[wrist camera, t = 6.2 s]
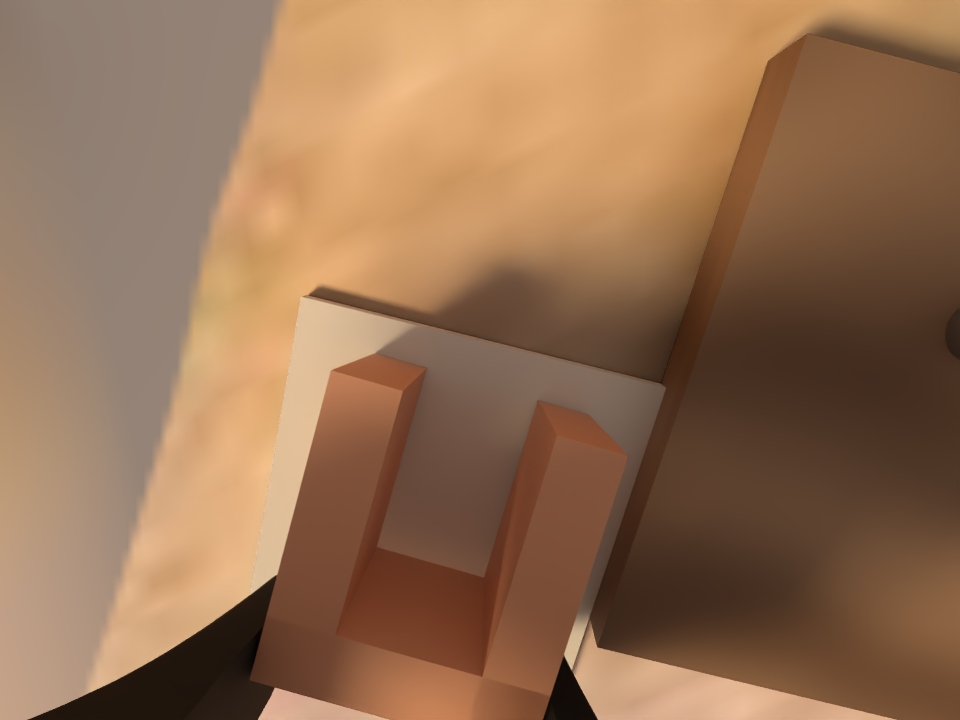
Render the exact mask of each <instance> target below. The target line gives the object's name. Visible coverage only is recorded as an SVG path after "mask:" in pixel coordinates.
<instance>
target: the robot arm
mask: <svg viewBox="0 0 960 720" xmlns="http://www.w3.org/2000/svg"><path fill="white" fill-rule="evenodd" d="M276 578H277V575H275V576H274V577H272V578H271V579H270V580H269V581H267V582H266V583H265V584H263V585H262V586H261V587H260V588H258V589H257V590H256V591H255V592H253V593H252V594H251V595H249V596H248V597H247V598H245V599H244V600H243V601H241V602H240V603H239V604H237V605H236V606H235V607H233V608H232V609H230V610H229V611H228V612H226V613H225V614H223V615H222V616H221V617H219V618H218V619H216V620H215V621H214V622H212V623H211V624H209V625H208V626H206V627H205V628H203V629H202V630H201V631H199V632H197V633H196V634H194V635H193V636H191V637H190V638H188V639H186V640H185V641H183V642H182V643H180V644H179V645H177V646H176V647H174V648H172V649H171V650H169V651H168V652H166V653H164V654H163V655H161V656H159V657H158V658H156V659H154V660H152V661H151V662H149V663H147V664H145V665H144V666H142V667H140V668H138V669H136V670H134V671H133V672H131V673H129V674H127V675H125V676H123V677H121V678H120V679H118V680H116V681H114V682H112V683H110V684H108V685H106V686H103V687H101V688H99V689H97V690H95V691H93V692H91V693H88V694H86V695H84V696H82V697H80V698H78V699H76V700H73V701H71V702H69V703H67V704H65V705H62V706H60V707H58V708H55V709H53V710H50V711H48V712H46V713H43V714H41V715H38V716H36V717H34V718H31V719H28V720H258V718H259V716H260V715H261V713H262V711H263V709H264V708H265V706H266V704H267V702H268V700H269V699H270V697H271V695H272V692H273V690H274V688H275V687H272V686H268V685H265V684H261V683H258V682H254V681H250V677H251V673H252V669H253V665H254V662H255V658H256V654H257V650H258V646H259V642H260V639H261V635H262V631H263V627H264V623H265V620H266V616H267V612H268V608H269V604H270V601H271V597H272V593H273V589H274V585H275V581H276ZM543 720H598V719H597V717H596V715H595V714H594V712H593V710H592V708H591V706H590V705H589V703H588V701H587V699H586V697H585V695H584V693H583V692H582V690H581V688H580V686H579V684H578V682H577V680H576V678H575V676H574V674H573V672H572V670H571V668H570V666H569V664H568V662H567V660H566V658H565V656H563V659H562V662H561V665H560V668H559V671H558V675H557V678H556V681H555V684H554V687H553V690H552V693H551V696H550V699H549V702H548V705H547V708H546V711H545V715H544V718H543Z"/></svg>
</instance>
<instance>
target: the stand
mask: <svg viewBox="0 0 960 720" xmlns="http://www.w3.org/2000/svg"><path fill="white" fill-rule="evenodd" d="M661 384H662V385H663V386H665V387H666V390H665V393H664V396H663V399H662V402H661V405H660V408H659V411H658V414H657V417H656V420H655V423H654V426H653V429H652V432H651V435H650V438H649V441H648V444H647V447H646V450H645V453H644V456H643V459H642V462H641V465H640V468H639V471H638V474H637V477H636V480H635V483H634V486H633V489H632V492H631V495H630V498H629V501H628V504H627V507H626V510H625V513H624V516H623V519H622V522H621V525H620V528H619V531H618V534H617V537H616V540H615V543H614V546H613V548H612V551H611V554H610V557H609V560H608V563H607V566H606V569H605V572H604V575H603V578H602V581H601V584H600V587H599V590H598V593H597V596H596V599H595V602H594V605H593V608H592V611H591V614H590V620H591V624H592V628H593V632H594V636H595V640H596V644H597V647H598V648H603V649H607V650H611V651H615V652H619V653H623V654H627V655H632V656H636V657H640V658H644V659H648V660H652V661H656V662H661V663H665V664H669V665H673V666H677V667H681V668H685V669H690V670H694V671H698V672H702V673H706V674H710V675H714V676H719V677H723V678H727V679H731V680H735V681H739V682H743V683H748V684H752V685H756V686H760V687H764V688H768V689H772V690H777V691H781V692H785V693H789V694H793V695H797V696H801V697H806V698H810V699H814V700H818V701H822V702H826V703H830V704H835V705H839V706H843V707H847V708H851V709H855V710H859V711H864V712H868V713H872V714H876V715H880V716H884V717H888V718H893V719H897V720H960V73H957V72H953V71H949V70H945V69H942V68H938V67H934V66H930V65H926V64H923V63H919V62H915V61H911V60H907V59H903V58H900V57H896V56H892V55H888V54H884V53H881V52H877V51H873V50H869V49H865V48H861V47H858V46H854V45H850V44H846V43H842V42H839V41H835V40H831V39H827V38H823V37H819V36H816V35H812V34H806V35H805V36H803V37H802V38H800V39H799V40H798V41H796V42H795V43H793V44H792V45H790V46H789V47H788V48H786V49H785V50H783V51H782V52H780V53H779V54H778V55H776V56H775V57H773V58H772V59H770V60H769V61H768V63H767V66H766V69H765V72H764V75H763V78H762V81H761V84H760V87H759V90H758V93H757V97H756V100H755V103H754V106H753V109H752V112H751V115H750V118H749V121H748V124H747V127H746V130H745V133H744V136H743V139H742V142H741V145H740V148H739V151H738V154H737V157H736V160H735V163H734V166H733V169H732V172H731V175H730V178H729V181H728V184H727V187H726V190H725V193H724V196H723V199H722V202H721V205H720V208H719V211H718V214H717V217H716V220H715V223H714V226H713V229H712V232H711V235H710V238H709V241H708V244H707V247H706V250H705V253H704V256H703V259H702V262H701V265H700V268H699V271H698V274H697V277H696V280H695V283H694V286H693V289H692V292H691V295H690V298H689V301H688V304H687V307H686V311H685V314H684V317H683V320H682V323H681V326H680V329H679V332H678V335H677V338H676V341H675V344H674V347H673V350H672V353H671V356H670V359H669V362H668V365H667V368H666V371H665V374H664V377H663V380H662V383H661Z"/></svg>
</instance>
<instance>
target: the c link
mask: <svg viewBox="0 0 960 720" xmlns="http://www.w3.org/2000/svg"><path fill="white" fill-rule="evenodd" d="M426 369H427V368H425V367H421V366H418V365H414V364H411V363H408V362H404V361H401V360H397V359H394V358H390V357H387V356H383V355H380V354H376V353H374V354H372V355H369V356H366V357H364V358H361V359H359V360H356V361H354V362H351V363H348V364H346V365H343V366H341V367H338V368H335V369H333V370H331V372H330V376H329V379H328V383H327V387H326V391H325V395H324V398H323V402H322V406H321V410H320V414H319V418H318V421H317V425H316V429H315V433H314V437H313V440H312V444H311V448H310V452H309V456H308V459H307V463H306V467H305V471H304V475H303V479H302V482H301V486H300V490H299V494H298V498H297V501H296V505H295V509H294V513H293V517H292V520H291V524H290V528H289V532H288V536H287V540H286V543H285V547H284V551H283V555H282V559H281V562H280V566H279V570H278V574H277V578H276V581H275V585H274V589H273V593H272V597H271V601H270V604H269V608H268V612H267V616H266V620H265V623H264V627H263V631H262V635H261V639H260V642H259V646H258V650H257V654H256V658H255V662H254V665H253V669H252V673H251V677H250V681H254V682H258V683H261V684H265V685H268V686H272V687H275V688H279V689H283V690H286V691H290V692H293V693H297V694H300V695H304V696H308V697H311V698H315V699H318V700H322V701H325V702H329V703H333V704H336V705H340V706H343V707H347V708H351V709H354V710H358V711H361V712H365V713H368V714H372V715H376V716H379V717H383V718H386V719H390V720H543V718H544V715H545V711H546V708H547V705H548V702H549V699H550V696H551V693H552V690H553V687H554V684H555V681H556V678H557V675H558V671H559V668H560V665H561V662H562V659H563V656H564V653H565V650H566V647H567V644H568V641H569V638H570V634H571V631H572V628H573V625H574V622H575V619H576V616H577V613H578V610H579V607H580V604H581V601H582V597H583V594H584V591H585V588H586V585H587V582H588V579H589V576H590V573H591V570H592V567H593V564H594V560H595V557H596V554H597V551H598V548H599V545H600V542H601V539H602V536H603V533H604V530H605V527H606V523H607V520H608V517H609V514H610V511H611V508H612V505H613V502H614V499H615V496H616V493H617V490H618V486H619V483H620V480H621V477H622V474H623V471H624V468H625V465H626V462H627V459H628V455H627V454H626V453H625V452H624V451H623V450H622V449H621V448H620V447H619V445H618V444H617V443H616V442H615V441H614V440H613V439H612V438H611V437H610V436H609V435H608V434H607V433H606V432H605V431H604V430H603V429H602V428H601V427H600V426H599V425H598V424H597V423H596V422H595V421H594V419H593V418H592V417H591V416H590V415H588V414H584V413H581V412H577V411H574V410H571V409H567V408H564V407H560V406H557V405H553V404H550V403H546V402H543V401H539V400H538V401H537V404H536V407H535V411H534V414H533V417H532V421H531V424H530V427H529V431H528V434H527V437H526V440H525V444H524V447H523V450H522V454H521V457H520V460H519V463H518V467H517V470H516V473H515V477H514V480H513V483H512V487H511V490H510V493H509V496H508V500H507V503H506V506H505V510H504V513H503V516H502V519H501V523H500V526H499V529H498V533H497V536H496V539H495V543H494V546H493V549H492V552H491V556H490V559H489V562H488V566H487V569H486V572H485V575H484V577H481V576H477V575H474V574H470V573H466V572H463V571H459V570H456V569H452V568H449V567H445V566H442V565H438V564H435V563H431V562H428V561H424V560H421V559H417V558H414V557H410V556H407V555H403V554H399V553H396V552H392V551H389V550H385V549H382V548H378V547H377V544H378V540H379V537H380V533H381V530H382V526H383V522H384V519H385V515H386V512H387V508H388V505H389V501H390V498H391V494H392V490H393V487H394V483H395V480H396V476H397V473H398V469H399V465H400V462H401V458H402V455H403V451H404V448H405V444H406V440H407V437H408V433H409V430H410V426H411V423H412V419H413V416H414V412H415V408H416V405H417V401H418V398H419V394H420V391H421V387H422V383H423V380H424V376H425V373H426Z"/></svg>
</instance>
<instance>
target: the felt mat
mask: <svg viewBox="0 0 960 720" xmlns="http://www.w3.org/2000/svg"><path fill="white" fill-rule="evenodd" d="M374 353H376V354H380V355H383V356H387V357H390V358H394V359H397V360H401V361H404V362H408V363H411V364H414V365H418V366H421V367H425V368H427V369H426V373H425V376H424V380H423V383H422V387H421V391H420V394H419V398H418V401H417V405H416V408H415V412H414V416H413V419H412V423H411V426H410V430H409V433H408V437H407V440H406V444H405V448H404V451H403V455H402V458H401V462H400V465H399V469H398V473H397V476H396V480H395V483H394V487H393V490H392V494H391V498H390V501H389V505H388V508H387V512H386V515H385V519H384V522H383V526H382V530H381V533H380V537H379V540H378V544H377V547H378V548H382V549H385V550H389V551H392V552H396V553H399V554H403V555H407V556H410V557H414V558H417V559H421V560H424V561H428V562H431V563H435V564H438V565H442V566H445V567H449V568H452V569H456V570H459V571H463V572H466V573H470V574H474V575H477V576H481V577H484V575H485V572H486V569H487V566H488V562H489V559H490V556H491V552H492V549H493V546H494V543H495V539H496V536H497V533H498V529H499V526H500V523H501V519H502V516H503V513H504V510H505V506H506V503H507V500H508V496H509V493H510V490H511V487H512V483H513V480H514V477H515V473H516V470H517V467H518V463H519V460H520V457H521V454H522V450H523V447H524V444H525V440H526V437H527V434H528V431H529V427H530V424H531V421H532V417H533V414H534V411H535V407H536V404H537V401H538V400H539V401H543V402H546V403H550V404H553V405H557V406H560V407H564V408H567V409H571V410H574V411H577V412H581V413H584V414H588V415H590V416H591V417H592V418H593V419H594V421H595V422H596V423H597V424H598V425H599V426H600V427H601V428H602V429H603V430H604V431H605V432H606V433H607V434H608V435H609V436H610V437H611V438H612V439H613V440H614V441H615V442H616V443H617V444H618V445H619V447H620V448H621V449H622V450H623V451H624V452H625V453H626V454H627V455H628V459H627V462H626V465H625V468H624V471H623V474H622V477H621V480H620V483H619V486H618V490H617V493H616V496H615V499H614V502H613V505H612V508H611V511H610V514H609V517H608V520H607V523H606V527H605V530H604V533H603V536H602V539H601V542H600V545H599V548H598V551H597V554H596V557H595V560H594V564H593V567H592V570H591V573H590V576H589V579H588V582H587V585H586V588H585V591H584V594H583V597H582V601H581V604H580V607H579V610H578V613H577V616H576V619H575V622H574V625H573V628H572V631H571V634H570V638H569V641H568V644H567V647H566V650H565V653H564V656H565V658H566V660H567V662H568V664H569V666H570V668H571V670H572V668H573V665H574V662H575V659H576V656H577V653H578V650H579V647H580V644H581V641H582V638H583V635H584V632H585V629H586V626H587V623H588V620H589V617H590V614H591V611H592V608H593V605H594V602H595V599H596V596H597V593H598V590H599V587H600V584H601V581H602V578H603V575H604V572H605V569H606V566H607V563H608V560H609V557H610V554H611V551H612V548H613V546H614V543H615V540H616V537H617V534H618V531H619V528H620V525H621V522H622V519H623V516H624V513H625V510H626V507H627V504H628V501H629V498H630V495H631V492H632V489H633V486H634V483H635V480H636V477H637V474H638V471H639V468H640V465H641V462H642V459H643V456H644V453H645V450H646V447H647V444H648V441H649V438H650V435H651V432H652V429H653V426H654V423H655V420H656V417H657V414H658V411H659V408H660V405H661V402H662V399H663V396H664V393H665V390H666V387H665V386H663V385H662V384H661V383H657V382H653V381H649V380H645V379H641V378H637V377H633V376H629V375H625V374H621V373H617V372H613V371H609V370H605V369H601V368H597V367H593V366H589V365H585V364H581V363H577V362H573V361H569V360H565V359H561V358H557V357H553V356H549V355H545V354H541V353H537V352H533V351H529V350H525V349H521V348H517V347H513V346H509V345H505V344H501V343H497V342H493V341H489V340H485V339H481V338H477V337H473V336H469V335H465V334H461V333H457V332H453V331H449V330H445V329H441V328H437V327H433V326H429V325H425V324H421V323H417V322H413V321H409V320H405V319H401V318H397V317H393V316H389V315H385V314H381V313H377V312H373V311H369V310H365V309H361V308H357V307H353V306H349V305H345V304H341V303H337V302H333V301H329V300H325V299H321V298H317V297H313V296H309V295H306V296H302V297H301V300H300V306H299V312H298V318H297V323H296V329H295V335H294V341H293V346H292V352H291V358H290V364H289V370H288V375H287V381H286V387H285V393H284V398H283V404H282V410H281V416H280V421H279V427H278V433H277V439H276V444H275V450H274V456H273V462H272V467H271V473H270V479H269V485H268V490H267V496H266V502H265V508H264V514H263V519H262V525H261V531H260V537H259V542H258V548H257V554H256V560H255V565H254V571H253V577H252V583H251V588H250V594H249V595H251V594H252V593H253V592H255V591H256V590H257V589H258V588H260V587H261V586H262V585H263V584H265V583H266V582H267V581H269V580H270V579H271V578H272V577H274V576H275V575H277V574H278V570H279V566H280V562H281V559H282V555H283V551H284V547H285V543H286V540H287V536H288V532H289V528H290V524H291V520H292V517H293V513H294V509H295V505H296V501H297V498H298V494H299V490H300V486H301V482H302V479H303V475H304V471H305V467H306V463H307V459H308V456H309V452H310V448H311V444H312V440H313V437H314V433H315V429H316V425H317V421H318V418H319V414H320V410H321V406H322V402H323V398H324V395H325V391H326V387H327V383H328V379H329V376H330V372H331V370H333V369H335V368H338V367H341V366H343V365H346V364H348V363H351V362H354V361H356V360H359V359H361V358H364V357H366V356H369V355H372V354H374Z"/></svg>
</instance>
